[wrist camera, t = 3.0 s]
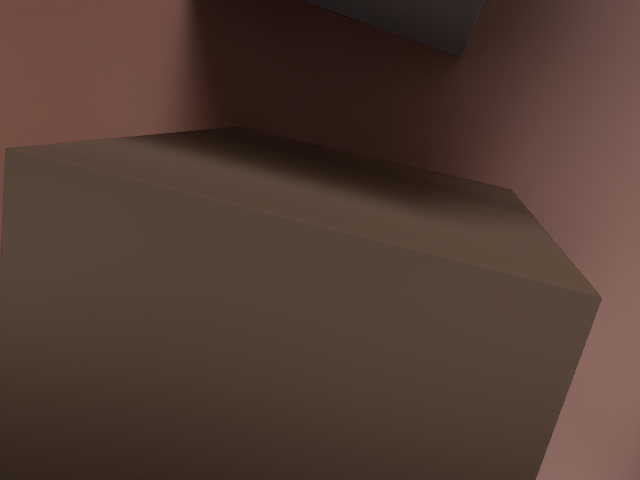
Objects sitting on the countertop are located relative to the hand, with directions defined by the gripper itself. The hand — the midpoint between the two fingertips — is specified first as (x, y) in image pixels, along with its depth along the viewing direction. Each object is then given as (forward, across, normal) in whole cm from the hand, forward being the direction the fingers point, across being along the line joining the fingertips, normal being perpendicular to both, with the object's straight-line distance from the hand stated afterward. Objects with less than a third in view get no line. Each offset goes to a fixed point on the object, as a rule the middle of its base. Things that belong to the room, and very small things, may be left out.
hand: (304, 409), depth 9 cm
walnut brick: (+1, 0, 0) cm, 1 cm away
